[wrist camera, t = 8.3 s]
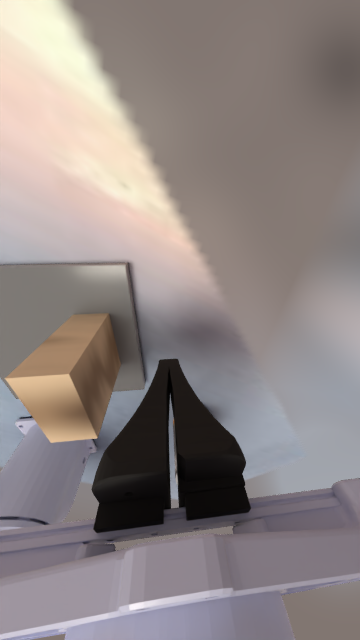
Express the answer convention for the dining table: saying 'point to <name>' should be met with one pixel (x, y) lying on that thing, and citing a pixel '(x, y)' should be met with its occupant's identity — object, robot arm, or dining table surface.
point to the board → (67, 311)
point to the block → (70, 378)
